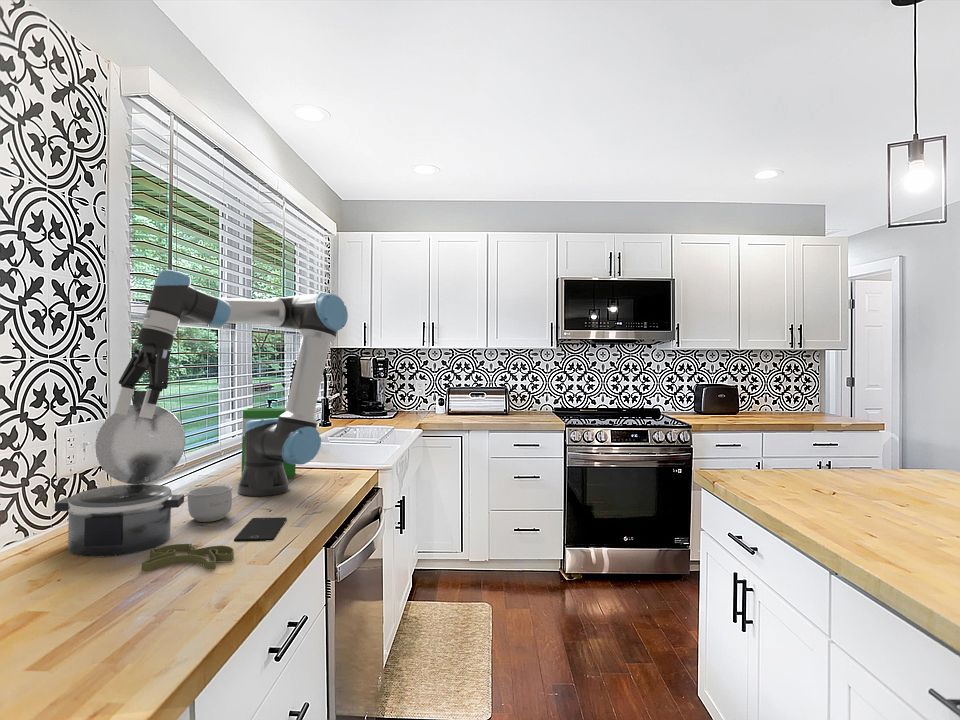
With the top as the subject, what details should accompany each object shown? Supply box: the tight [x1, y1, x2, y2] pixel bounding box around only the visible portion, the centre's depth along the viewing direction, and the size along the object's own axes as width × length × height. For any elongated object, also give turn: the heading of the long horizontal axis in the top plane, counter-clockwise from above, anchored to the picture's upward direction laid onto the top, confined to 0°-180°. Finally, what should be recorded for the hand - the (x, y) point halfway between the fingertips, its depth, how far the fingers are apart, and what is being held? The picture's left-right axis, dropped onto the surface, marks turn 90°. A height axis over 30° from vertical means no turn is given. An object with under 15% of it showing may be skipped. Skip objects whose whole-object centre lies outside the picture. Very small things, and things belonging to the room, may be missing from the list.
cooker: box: [54, 483, 185, 557], centre depth 134 cm, size 25×22×11 cm
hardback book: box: [240, 407, 297, 478], centre depth 207 cm, size 18×7×24 cm, turn 106°
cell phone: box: [233, 516, 287, 542], centre depth 145 cm, size 9×18×1 cm, turn 8°
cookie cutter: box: [141, 543, 235, 572], centre depth 123 cm, size 18×12×2 cm, turn 97°
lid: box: [95, 390, 186, 485], centre depth 146 cm, size 20×23×2 cm
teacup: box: [186, 483, 233, 523], centre depth 154 cm, size 14×11×8 cm
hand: (132, 416), depth 138 cm, fingers open, 13 cm apart
